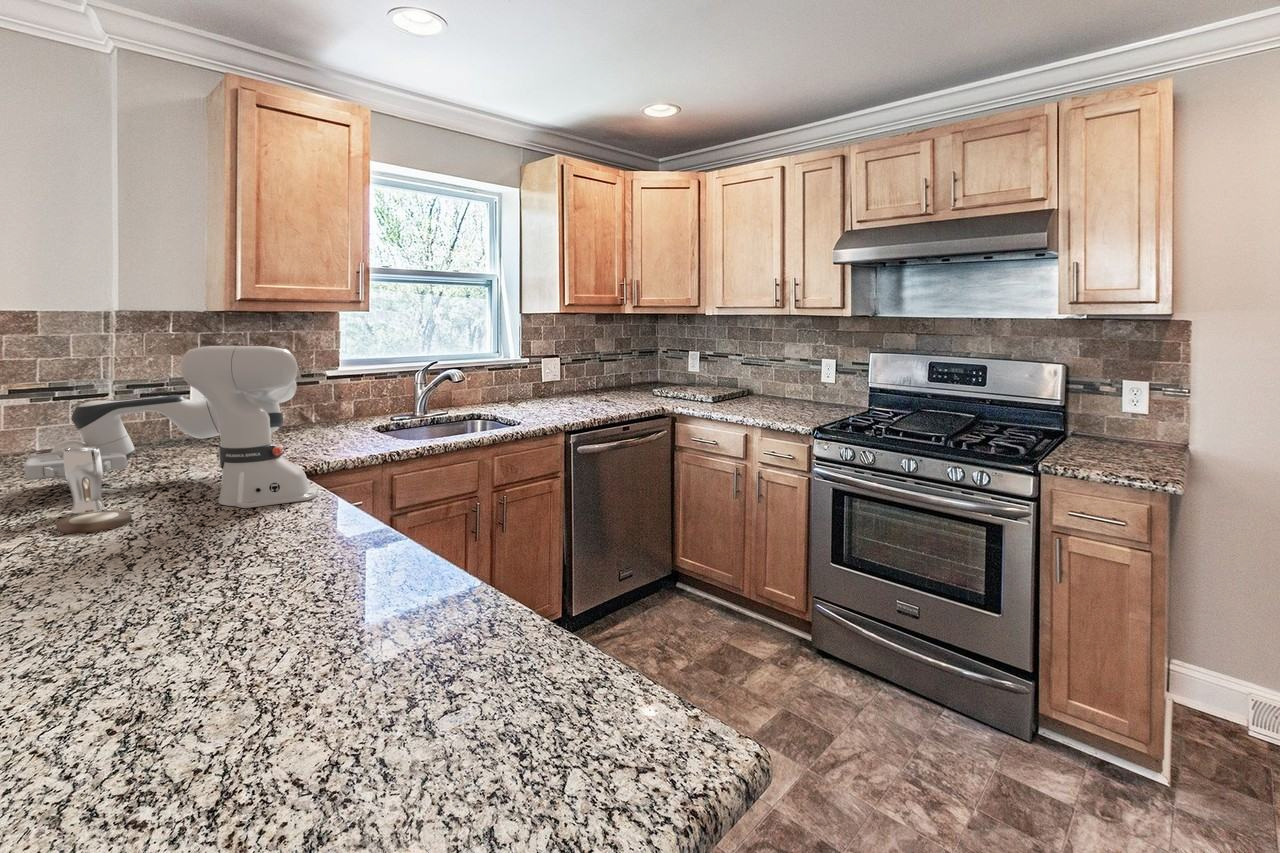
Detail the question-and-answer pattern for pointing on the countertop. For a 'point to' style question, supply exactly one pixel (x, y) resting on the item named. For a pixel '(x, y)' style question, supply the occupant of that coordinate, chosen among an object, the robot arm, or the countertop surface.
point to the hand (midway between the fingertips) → (80, 470)
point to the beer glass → (84, 478)
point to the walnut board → (93, 521)
